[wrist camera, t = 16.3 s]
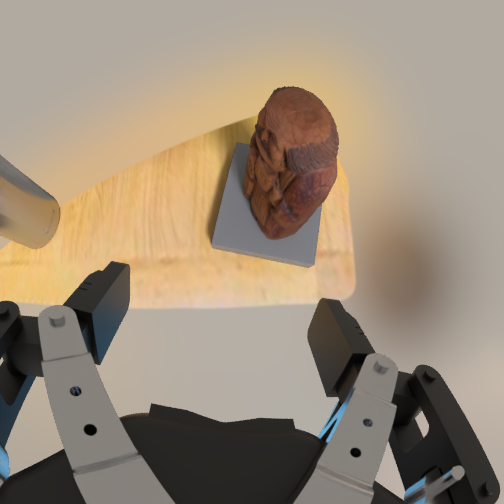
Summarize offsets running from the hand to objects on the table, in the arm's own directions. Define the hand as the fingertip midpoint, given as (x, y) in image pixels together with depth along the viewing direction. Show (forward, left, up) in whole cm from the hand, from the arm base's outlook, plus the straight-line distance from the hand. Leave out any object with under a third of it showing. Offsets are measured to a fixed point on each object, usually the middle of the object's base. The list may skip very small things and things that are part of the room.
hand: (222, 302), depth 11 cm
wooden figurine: (+3, +14, -22) cm, 27 cm away
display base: (+3, +15, -24) cm, 29 cm away
